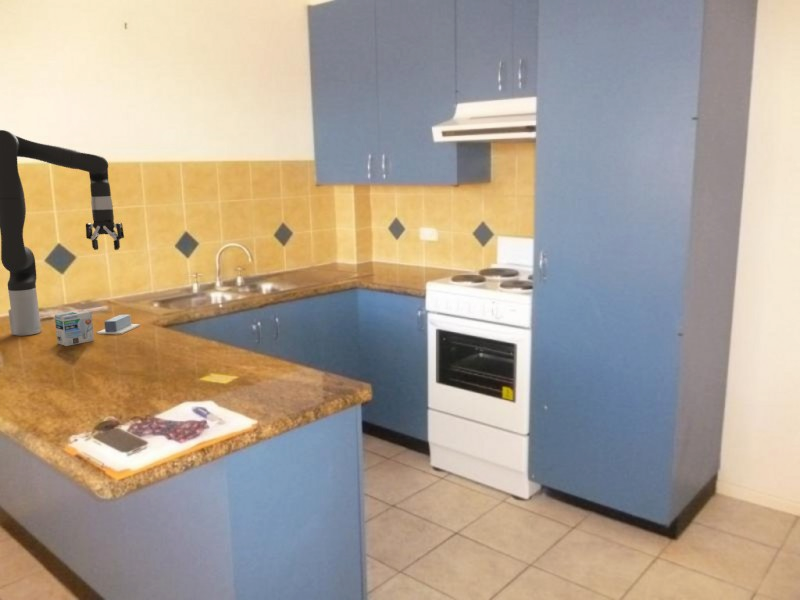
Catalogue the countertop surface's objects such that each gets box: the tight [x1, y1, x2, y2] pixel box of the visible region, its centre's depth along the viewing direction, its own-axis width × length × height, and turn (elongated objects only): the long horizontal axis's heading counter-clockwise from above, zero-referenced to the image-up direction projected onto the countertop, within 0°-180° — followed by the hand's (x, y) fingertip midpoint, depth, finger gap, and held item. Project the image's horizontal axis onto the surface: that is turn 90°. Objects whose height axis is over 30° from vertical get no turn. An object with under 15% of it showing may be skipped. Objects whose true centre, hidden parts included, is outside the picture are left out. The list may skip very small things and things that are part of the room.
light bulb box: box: [54, 309, 95, 347], centre depth 241 cm, size 11×7×11 cm, turn 143°
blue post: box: [104, 314, 132, 332], centre depth 260 cm, size 4×4×12 cm
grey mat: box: [96, 323, 141, 335], centre depth 260 cm, size 10×14×1 cm
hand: (106, 249), depth 264 cm, fingers open, 8 cm apart
